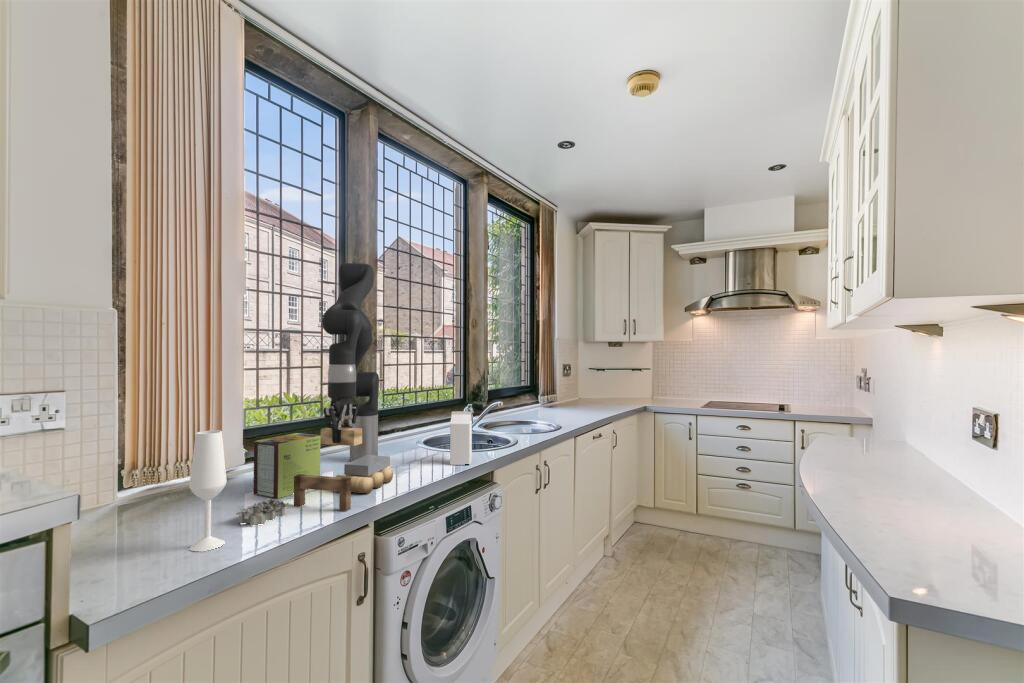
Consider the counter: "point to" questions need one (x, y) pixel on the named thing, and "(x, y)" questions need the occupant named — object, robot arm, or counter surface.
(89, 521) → the counter surface
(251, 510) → the egg carton
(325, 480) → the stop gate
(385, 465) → the slab
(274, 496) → the protein box
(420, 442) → the counter surface
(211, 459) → the champagne flute
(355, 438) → the oak skid
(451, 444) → the milk carton
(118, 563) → the counter surface
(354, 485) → the roller bed
